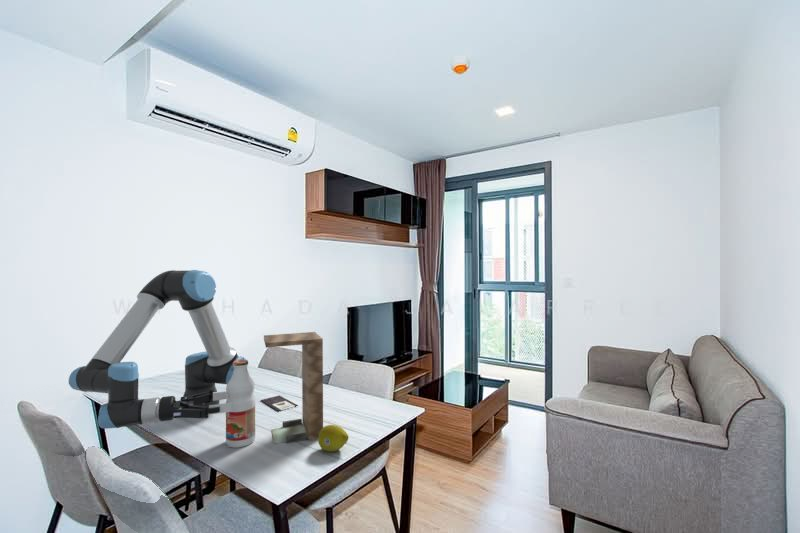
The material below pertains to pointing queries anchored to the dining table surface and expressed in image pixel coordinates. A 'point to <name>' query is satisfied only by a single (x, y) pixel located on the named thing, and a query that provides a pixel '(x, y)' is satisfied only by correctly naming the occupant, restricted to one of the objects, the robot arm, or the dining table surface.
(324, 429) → the lemon
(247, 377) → the fruit juice
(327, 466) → the dining table surface
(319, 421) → the shelf
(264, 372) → the dining table surface
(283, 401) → the chocolate bar
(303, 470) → the dining table surface
